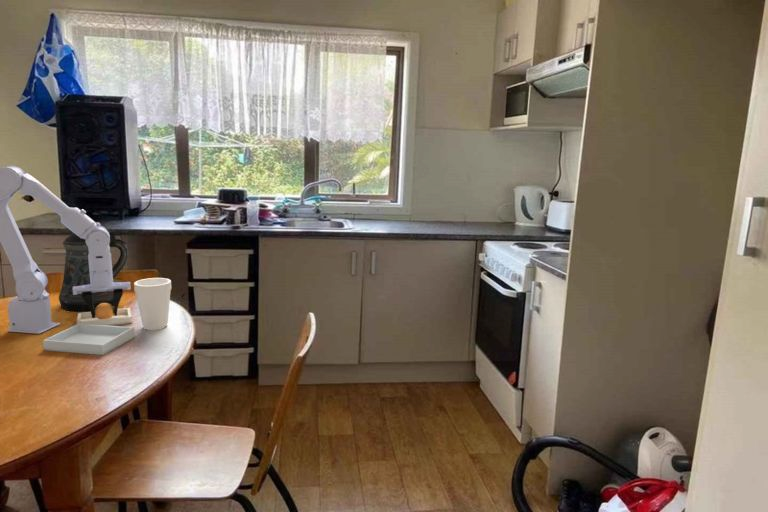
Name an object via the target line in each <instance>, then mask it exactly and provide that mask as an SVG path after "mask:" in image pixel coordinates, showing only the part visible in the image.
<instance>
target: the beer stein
mask: <svg viewBox="0 0 768 512" xmlns="http://www.w3.org/2000/svg"><path fill="white" fill-rule="evenodd" d="M106 230H107V231H108V232H109V235H110V243H109V246H110V248H117V249H118V250H119V253H120V254H119V258H118V260H117V261H116V262H115V264H114V265H112V274H113V280H114V279H115V278H116V277H117V276H118V275H119V274H120V273H121V271H122V270H123V268H124V267H125V265H126V264H127V262H128V259H129V249H128V247H127V245H126V244H127V243H126V242H125V241H124V240H122V239H120V238H118V237H116V235H115V233H114V232H112V231H111V230H109V229H106ZM62 246H63V248H64V249H65V257H64V258H65V259H64V268H63V269H64V271H63V272H64V273H63V280H62V284H61V289H60V292H59V294H58V301H59V304H60V308H61V310H63V311H64V310H65V311H64V312H66V311H69V313H84V312H90V309H89V307H88V306H87V304H86V302H85V301H84V300H83V298H82V294H77V295H73V287H74V286H82V285H88V284H90V273H89V261H88V254H89V250H88V246H87V244H86V242H85V239H83V238H80V237H79V236H77V235H76V234H75V233H73V232H72V233H71V234H70V235H68V236H66V238H65V239H64V240H63V241H62ZM101 303H108V304H110V305H112V306H113V307H114V296H113V291H104V292H93V305H94V311H95V308H96V307H97V306H98V305H99V304H101Z"/></svg>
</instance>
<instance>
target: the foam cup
mask: <svg viewBox="0 0 768 512" xmlns="http://www.w3.org/2000/svg"><path fill="white" fill-rule="evenodd" d="M133 289H134V290H133V291H134V293H135V296H136V297H135V298H136V301H137V306H138V310H139V315H140V320H141V324H142V326H143V329H144V330H146V329H147V331H157V330H156V329H159V330H161V329H160V328H163V329H165V328H166V327H165V326H167V327H168V325H167V324H169V311H170V300H171V290H172V280H171V279H170V278H167V277H166V278H165V277H152V278H151V277H149V278H144V279H143V278H142V279H139V280H136V281H135V282H133ZM164 327H165V328H164Z"/></svg>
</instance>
